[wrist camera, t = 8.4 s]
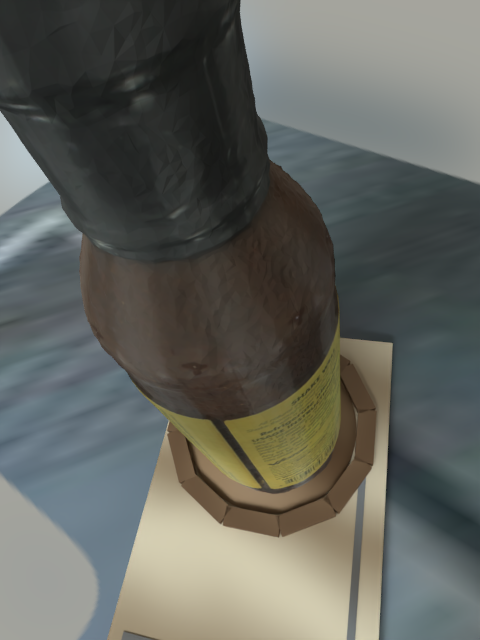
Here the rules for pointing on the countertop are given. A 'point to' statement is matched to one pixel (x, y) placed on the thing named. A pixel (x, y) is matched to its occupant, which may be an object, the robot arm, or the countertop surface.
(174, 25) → the sauce bottle
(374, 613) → the beige flat board
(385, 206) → the countertop surface
